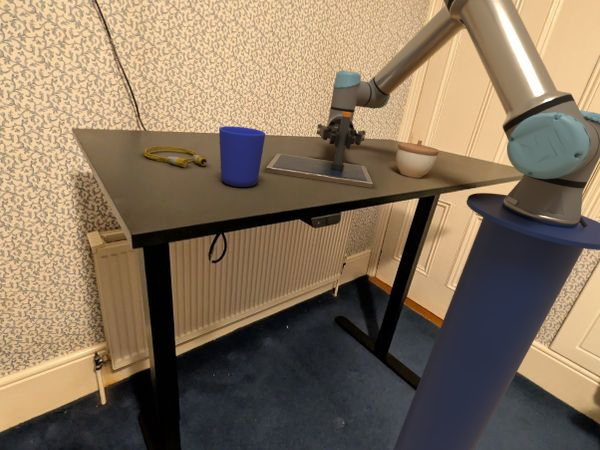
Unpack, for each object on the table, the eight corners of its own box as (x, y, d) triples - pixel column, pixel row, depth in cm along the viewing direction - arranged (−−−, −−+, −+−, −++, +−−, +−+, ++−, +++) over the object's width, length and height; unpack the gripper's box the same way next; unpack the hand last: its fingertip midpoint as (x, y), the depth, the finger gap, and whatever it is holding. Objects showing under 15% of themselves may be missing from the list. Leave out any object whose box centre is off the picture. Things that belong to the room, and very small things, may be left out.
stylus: (345, 170, 79) (356, 113, 74) (334, 170, 78) (344, 112, 72) (339, 166, 81) (349, 111, 76) (328, 166, 80) (337, 110, 75)
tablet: (364, 170, 88) (365, 166, 87) (371, 188, 72) (373, 182, 71) (277, 157, 88) (277, 152, 88) (265, 172, 73) (266, 166, 72)
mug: (243, 171, 70) (246, 124, 67) (267, 189, 61) (273, 135, 57) (206, 172, 66) (206, 121, 62) (226, 191, 57) (228, 133, 53)
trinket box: (438, 179, 89) (449, 145, 86) (414, 181, 83) (425, 144, 80) (407, 168, 97) (415, 137, 93) (383, 170, 91) (391, 136, 87)
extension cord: (144, 167, 64) (143, 157, 63) (144, 149, 77) (143, 141, 76) (207, 168, 69) (208, 159, 68) (197, 152, 82) (197, 144, 81)
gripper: (363, 146, 94) (373, 163, 73) (312, 138, 95) (307, 153, 73) (368, 119, 91) (380, 129, 70) (316, 112, 92) (312, 119, 70)
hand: (343, 141), depth 72 cm, fingers closed on stylus, 2 cm apart
